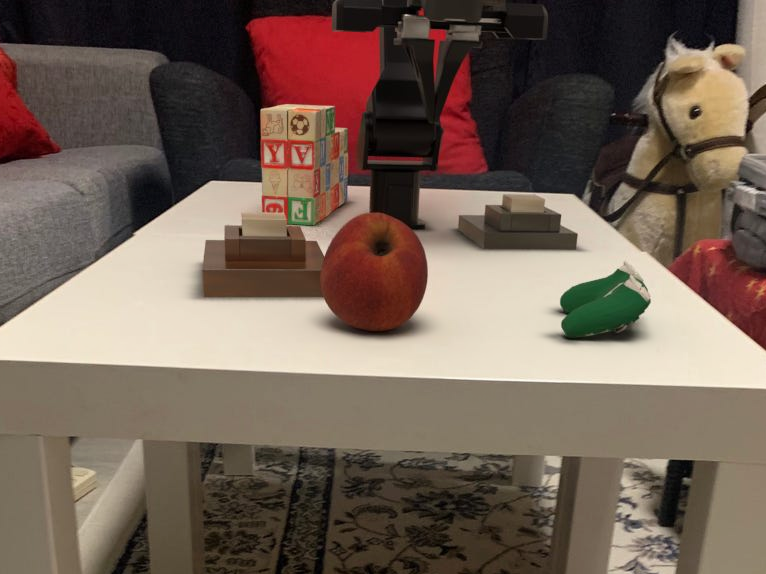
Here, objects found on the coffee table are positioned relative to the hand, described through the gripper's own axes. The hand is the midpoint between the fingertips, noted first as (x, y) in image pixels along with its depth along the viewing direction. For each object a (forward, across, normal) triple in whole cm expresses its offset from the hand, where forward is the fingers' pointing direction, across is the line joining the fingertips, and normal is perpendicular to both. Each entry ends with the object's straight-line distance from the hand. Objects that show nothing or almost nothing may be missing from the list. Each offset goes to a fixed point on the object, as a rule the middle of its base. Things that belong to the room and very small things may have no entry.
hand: (432, 122), depth 87 cm
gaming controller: (+12, +8, -27) cm, 31 cm away
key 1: (+9, -16, -12) cm, 22 cm away
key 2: (+9, +12, +8) cm, 17 cm away
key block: (+12, -16, -12) cm, 23 cm away
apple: (+12, -8, -28) cm, 31 cm away
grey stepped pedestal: (+12, +12, +10) cm, 20 cm away
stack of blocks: (+13, -10, +28) cm, 33 cm away
